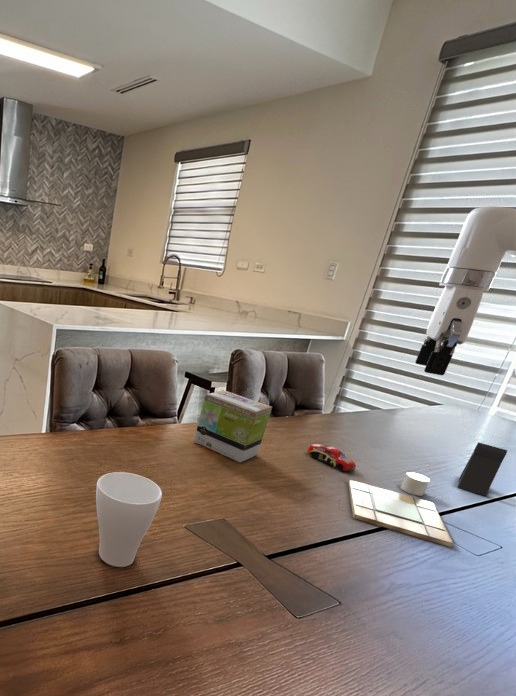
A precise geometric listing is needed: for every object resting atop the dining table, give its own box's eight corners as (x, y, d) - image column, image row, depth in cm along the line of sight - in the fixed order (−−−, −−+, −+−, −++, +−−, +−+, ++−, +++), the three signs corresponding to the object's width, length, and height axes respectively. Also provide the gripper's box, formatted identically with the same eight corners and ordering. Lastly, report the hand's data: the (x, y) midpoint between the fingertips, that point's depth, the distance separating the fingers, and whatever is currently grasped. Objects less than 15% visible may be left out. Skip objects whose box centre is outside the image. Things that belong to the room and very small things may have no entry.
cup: (155, 576, 77) (172, 505, 72) (93, 576, 75) (105, 504, 69) (136, 537, 86) (150, 472, 81) (80, 537, 84) (90, 471, 79)
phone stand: (459, 478, 132) (478, 438, 127) (486, 486, 128) (507, 446, 124) (456, 487, 125) (477, 446, 121) (485, 496, 122) (507, 455, 117)
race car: (358, 472, 127) (363, 459, 126) (345, 474, 125) (350, 461, 123) (316, 451, 138) (320, 439, 136) (303, 453, 135) (308, 440, 134)
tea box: (192, 442, 133) (204, 393, 127) (210, 436, 139) (223, 388, 134) (240, 463, 123) (256, 411, 117) (258, 455, 130) (273, 405, 124)
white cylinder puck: (421, 489, 121) (427, 476, 120) (425, 497, 117) (431, 483, 115) (399, 483, 123) (405, 470, 121) (402, 491, 119) (408, 477, 117)
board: (431, 506, 113) (433, 501, 112) (451, 547, 96) (454, 542, 96) (348, 483, 120) (349, 479, 119) (353, 518, 103) (355, 513, 102)
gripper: (506, 284, 79) (461, 382, 86) (477, 282, 94) (440, 365, 101) (453, 278, 82) (414, 373, 89) (433, 277, 97) (400, 358, 103)
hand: (428, 369), depth 95 cm, fingers open, 9 cm apart
